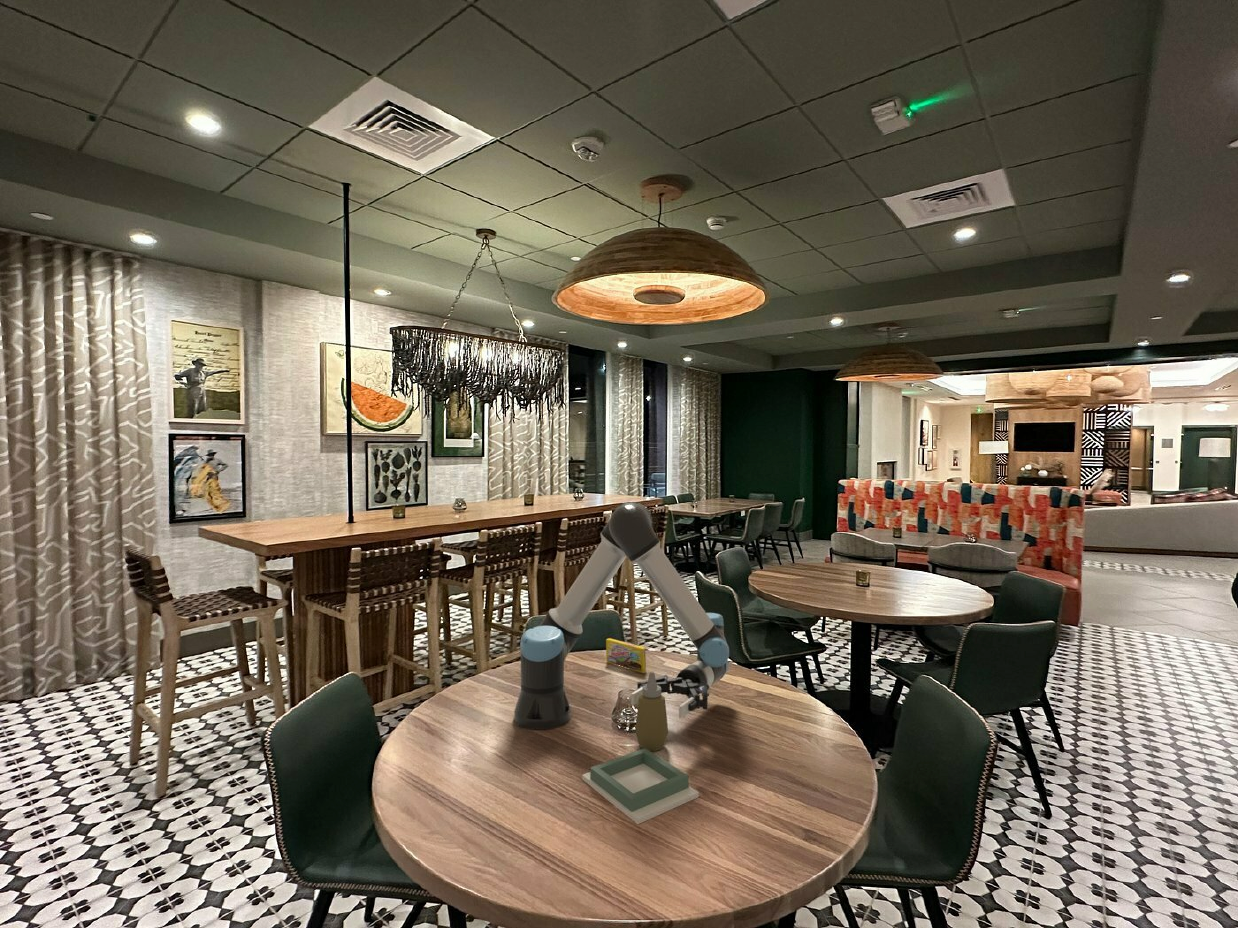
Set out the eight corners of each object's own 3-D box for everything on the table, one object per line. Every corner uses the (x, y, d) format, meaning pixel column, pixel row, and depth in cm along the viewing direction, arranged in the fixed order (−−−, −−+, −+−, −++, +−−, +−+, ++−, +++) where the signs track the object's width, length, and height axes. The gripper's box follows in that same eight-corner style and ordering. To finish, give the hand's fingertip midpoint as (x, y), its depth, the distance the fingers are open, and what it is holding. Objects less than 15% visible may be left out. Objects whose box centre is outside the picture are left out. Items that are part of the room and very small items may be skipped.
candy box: (605, 662, 208) (605, 638, 208) (609, 661, 209) (609, 637, 209) (642, 673, 197) (642, 648, 197) (646, 671, 199) (646, 646, 199)
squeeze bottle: (666, 755, 142) (666, 679, 142) (632, 752, 144) (632, 677, 144) (670, 740, 150) (670, 668, 150) (638, 737, 152) (638, 666, 152)
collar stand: (582, 779, 132) (582, 763, 132) (639, 758, 141) (639, 743, 141) (637, 824, 116) (637, 806, 116) (698, 796, 125) (698, 780, 125)
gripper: (737, 702, 158) (701, 733, 141) (655, 683, 172) (613, 708, 154) (737, 674, 158) (701, 701, 140) (655, 657, 172) (613, 679, 154)
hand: (655, 705), depth 147 cm, fingers open, 13 cm apart
